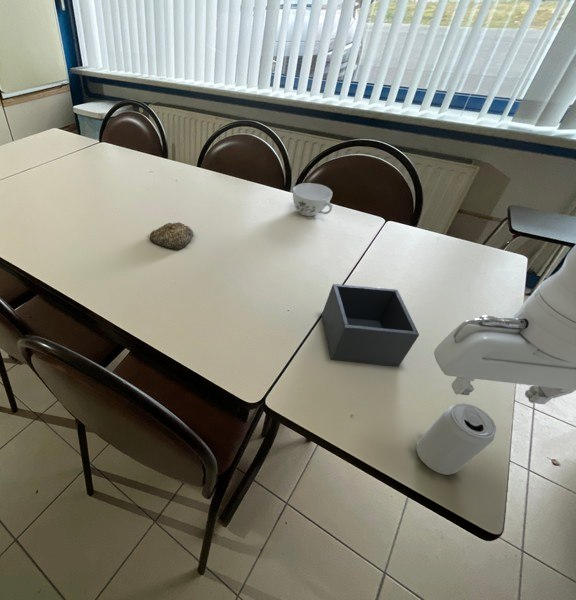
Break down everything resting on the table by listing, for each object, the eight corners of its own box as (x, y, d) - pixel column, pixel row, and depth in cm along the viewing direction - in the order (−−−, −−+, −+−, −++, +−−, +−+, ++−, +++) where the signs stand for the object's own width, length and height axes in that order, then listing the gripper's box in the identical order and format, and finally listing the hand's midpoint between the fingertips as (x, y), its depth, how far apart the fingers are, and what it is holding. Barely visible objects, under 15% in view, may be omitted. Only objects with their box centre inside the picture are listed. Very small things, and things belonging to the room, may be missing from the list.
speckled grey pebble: (176, 254, 107) (176, 239, 103) (144, 240, 112) (143, 226, 109) (201, 235, 114) (202, 221, 111) (170, 223, 120) (169, 209, 117)
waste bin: (398, 367, 76) (419, 334, 69) (331, 359, 77) (345, 327, 71) (380, 321, 86) (397, 289, 79) (321, 315, 87) (332, 283, 81)
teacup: (280, 209, 127) (285, 187, 122) (306, 200, 132) (312, 179, 127) (313, 228, 118) (319, 205, 112) (339, 218, 122) (347, 196, 117)
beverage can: (415, 467, 60) (452, 430, 52) (412, 434, 65) (446, 395, 57) (459, 482, 58) (505, 446, 50) (453, 447, 63) (494, 408, 55)
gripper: (482, 335, 39) (423, 405, 49) (697, 357, 37) (592, 426, 47) (457, 296, 44) (408, 367, 53) (648, 314, 42) (561, 384, 51)
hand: (495, 394), depth 50 cm, fingers open, 8 cm apart
